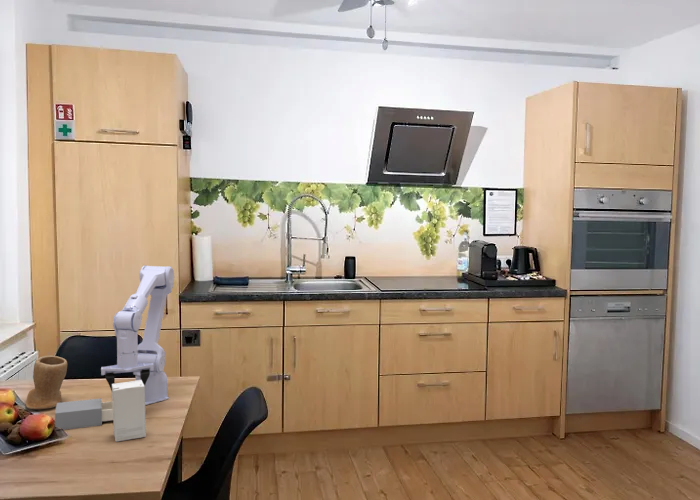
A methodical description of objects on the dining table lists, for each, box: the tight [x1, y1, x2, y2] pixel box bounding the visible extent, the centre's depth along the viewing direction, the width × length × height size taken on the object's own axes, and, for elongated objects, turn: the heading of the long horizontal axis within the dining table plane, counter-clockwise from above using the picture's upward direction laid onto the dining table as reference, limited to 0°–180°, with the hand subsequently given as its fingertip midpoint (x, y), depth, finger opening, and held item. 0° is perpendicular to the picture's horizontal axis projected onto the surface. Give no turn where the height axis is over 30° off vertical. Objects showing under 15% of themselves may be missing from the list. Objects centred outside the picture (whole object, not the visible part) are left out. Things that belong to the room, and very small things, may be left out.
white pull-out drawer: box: [101, 401, 113, 422], centre depth 176 cm, size 13×9×9 cm
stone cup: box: [25, 355, 68, 410], centre depth 187 cm, size 15×12×15 cm
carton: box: [54, 398, 103, 431], centre depth 173 cm, size 12×9×5 cm
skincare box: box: [111, 379, 147, 442], centre depth 163 cm, size 8×6×15 cm
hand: (127, 395), depth 178 cm, fingers open, 7 cm apart
